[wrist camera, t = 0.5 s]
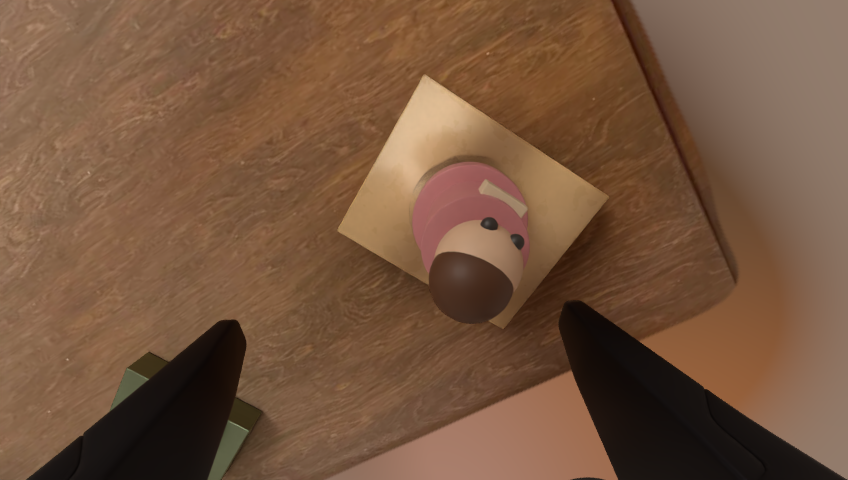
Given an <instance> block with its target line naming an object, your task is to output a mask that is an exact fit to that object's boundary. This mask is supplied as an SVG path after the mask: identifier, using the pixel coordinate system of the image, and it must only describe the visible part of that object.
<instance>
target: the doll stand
mask: <svg viewBox="0 0 848 480" xmlns="http://www.w3.org/2000/svg"><path fill="white" fill-rule="evenodd" d="M461 162H479V163H483V164H487V165H489V166H492V167H494V168H496V169H497V170H499V171H500V172H502V173H503V174H504V175H506V176H507V177H508V178H509V179H510V180H511V181H512V182H513V183H514V184H515V185H516V186H517V188H518V189H519V190H520V192H521V194H522V196H523V198H524V200H525V203H526V206H527V207H528V210H527V212H528V227H527V231H528V235H529V241H530V252H529V257H528V261H527V264H526V266H525V268H524V270H523V274H522V278H521V281H520V283H519V285H518V287H517V289H516V290H515V291H514V293H513V294H512V297H511V299H510V301H509V303H508V305H507V306H506V308H505V309H504V310H503V311H502V312H501V313H500V314H498V315H497V316H496V317H494V318H493V319H491V320H488V321H490V322H491V323H493V324H495V325H496V326H498V327H500V328H501V329H504V328H505V326H506V325H507V324H508V323H509V322H510V320H511V319H512V318H513V317H514V315H515V314H516V313H517V312H518V310H519V309H520V308H521V307H522V305H523V304H524V303H525V302H526V300H527V299H528V298H529V297H530V295H531V294H532V293H533V292H534V290H535V289H536V288H537V287H538V285H539V284H540V283H541V282H542V280H543V279H544V278H545V277H546V275H547V274H548V273H549V272H550V270H551V269H552V268H553V267H554V265H555V264H556V263H557V262H558V260H559V259H560V258H561V257H562V255H563V254H564V253H565V252H566V250H567V249H568V248H569V247H570V245H571V244H572V243H573V242H574V241H575V239H576V238H577V237H578V236H579V234H580V233H581V232H582V231H583V229H584V228H585V227H586V226H587V224H588V223H589V222H590V221H591V219H592V218H593V217H594V216H595V214H596V213H597V212H598V211H599V209H600V208H601V207H602V206H603V204H604V203H605V202H606V201H607V199H608V198H609V196H608V195H606V194H605V193H603V192H602V191H600V190H599V189H597V188H596V187H594V186H593V185H591V184H590V183H588V182H587V181H585V180H583V179H582V178H580V177H579V176H577V175H576V174H574V173H573V172H571V171H570V170H568V169H567V168H565V167H564V166H562V165H561V164H559V163H558V162H556V161H555V160H553V159H552V158H550V157H549V156H547V155H546V154H544V153H543V152H541V151H540V150H538V149H537V148H535V147H534V146H532V145H531V144H529V143H528V142H526V141H525V140H523V139H522V138H520V137H519V136H517V135H516V134H514V133H513V132H511V131H510V130H508V129H506V128H505V127H503V126H502V125H500V124H499V123H497V122H496V121H494V120H493V119H491V118H490V117H488V116H487V115H485V114H484V113H482V112H481V111H479V110H478V109H476V108H475V107H473V106H472V105H470V104H469V103H467V102H466V101H464V100H463V99H461V98H460V97H458V96H457V95H455V94H454V93H452V92H451V91H449V90H448V89H446V88H445V87H443V86H442V85H440V84H439V83H437V82H436V81H434V80H433V79H431V78H429V77H428V76H426V75H425V74H424V75H423V77H422V79H421V80H420V82H419V84H418V86H417V88H416V89H415V91H414V93H413V95H412V97H411V98H410V100H409V102H408V104H407V106H406V107H405V109H404V111H403V113H402V115H401V116H400V118H399V120H398V122H397V124H396V125H395V127H394V129H393V131H392V133H391V134H390V136H389V138H388V140H387V141H386V143H385V145H384V147H383V149H382V150H381V152H380V154H379V156H378V158H377V159H376V161H375V163H374V165H373V167H372V168H371V170H370V172H369V174H368V176H367V177H366V179H365V181H364V183H363V185H362V186H361V188H360V190H359V192H358V194H357V195H356V197H355V199H354V201H353V203H352V204H351V206H350V208H349V210H348V212H347V213H346V215H345V217H344V219H343V221H342V222H341V224H340V226H339V228H338V230H337V231H338V232H340V233H341V234H343V235H345V236H346V237H348V238H350V239H351V240H353V241H355V242H357V243H358V244H360V245H362V246H363V247H365V248H367V249H368V250H370V251H372V252H373V253H375V254H377V255H378V256H380V257H382V258H383V259H385V260H387V261H389V262H390V263H392V264H394V265H395V266H397V267H399V268H400V269H402V270H404V271H405V272H407V273H409V274H410V275H412V276H414V277H415V278H417V279H419V280H421V281H422V282H424V283H426V284H427V285H429V274H428V272H427V270H426V268H425V266H424V263H423V260H422V255H421V250H420V249H419V247H418V245H417V243H416V240H415V237H414V234H413V228H412V215H413V210H414V206H415V203H416V200H417V198H418V196H419V194H420V192H421V190H422V188H423V186H424V185H425V184H426V182H427V181H428V180H429V179H430V178H431V177H432V176H433V175H434V174H435V173H437V172H438V171H440V170H441V169H443V168H445V167H447V166H449V165H452V164H456V163H461Z"/></svg>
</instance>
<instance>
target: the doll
mask: <svg viewBox="0 0 848 480" xmlns="http://www.w3.org/2000/svg"><path fill="white" fill-rule="evenodd" d="M527 210H528V207H527V206H526V203H525V200H524V198H523V196H522V194H521V192H520V190H519V189H518V188H517V186H516V185H515V184H514V183H513V182H512V181H511V180H510V179H509V178H508V177H507V176H506V175H504V174H503V173H502V172H500V171H499V170H497V169H496V168H494V167H492V166H489V165H487V164H483V163H479V162H461V163H456V164H452V165H449V166H447V167H445V168H443V169H441V170H440V171H438V172H437V173H435V174H434V175H433V176H432V177H431V178H430V179H429V180H428V181H427V182H426V184H425V185H424V186H423V188H422V190H421V192H420V194H419V196H418V198H417V200H416V203H415V206H414V210H413V215H412V228H413V234H414V237H415V240H416V243H417V245H418V247H419V249H420V250H421V255H422V260H423V263H424V266H425V268H426V270H427V272H428V274H429V289H430V292H431V295H432V298H433V300H434V302H435V303H436V305H437V306H438V308H439V309H440V310H441V311H442V312H443V313H444V314H445V315H447V316H448V317H450V318H452V319H454V320H456V321H459V322H462V323H469V324H476V323H482V322H486V321H488V320H491V319H493V318H494V317H496V316H497V315H498V314H500V313H501V312H502V311H503V310H504V309H505V308H506V306H507V305H508V303H509V301H510V299H511V297H512V294H513V293H514V291H515V290H516V289H517V287H518V285H519V283H520V281H521V278H522V274H523V270H524V268H525V266H526V264H527V261H528V257H529V252H530V241H529V235H528V231H527V227H528V212H527Z"/></svg>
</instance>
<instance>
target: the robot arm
mask: <svg viewBox="0 0 848 480" xmlns="http://www.w3.org/2000/svg"><path fill="white" fill-rule="evenodd" d="M558 324H559V330H560V334H561V337H562V340H563V343H564V347H565V350H566V353H567V356H568V359H569V363H570V366H571V369H572V372H573V375H574V378H575V381H576V383H577V386H578V388H579V390H580V393H581V395H582V397H583V399H584V402H585V404H586V406H587V409H588V411H589V413H590V415H591V418H592V420H593V422H594V425H595V427H596V429H597V432H598V434H599V436H600V438H601V441H602V443H603V445H604V448H605V450H606V452H607V455H608V457H609V459H610V462H611V464H612V466H613V468H614V471H615V473H616V475H617V477H618V480H847V479H845V478H844V477H842V476H840V475H839V474H837V473H835V472H834V471H832V470H831V469H829V468H827V467H826V466H824V465H823V464H821V463H819V462H818V461H816V460H815V459H813V458H811V457H810V456H808V455H807V454H805V453H803V452H802V451H800V450H799V449H797V448H795V447H794V446H792V445H790V444H789V443H787V442H786V441H784V440H782V439H781V438H779V437H777V436H776V435H774V434H773V433H771V432H770V431H768V430H767V429H765V428H763V427H762V426H760V425H759V424H757V423H756V422H754V421H753V420H751V419H749V418H748V417H746V416H745V415H744V414H742V413H740V412H739V411H738V410H736V409H735V408H733V407H732V406H730V405H729V404H727V403H726V402H724V401H723V400H722V399H720V398H719V397H717V396H716V395H714V394H713V393H712V392H710V391H709V390H707V389H704V388H703V386H701V385H700V384H699V383H697V382H696V381H694V380H693V379H691V378H690V377H689V376H687V375H686V374H684V373H683V372H682V371H680V370H679V369H677V368H676V367H674V366H673V365H672V364H670V363H669V362H667V361H666V360H665V359H663V358H662V357H660V356H659V355H657V354H656V353H655V352H653V351H652V350H650V349H649V348H648V347H646V346H644V345H643V344H642V343H640V342H639V341H638V340H636V339H635V338H633V337H632V336H631V335H629V334H628V333H626V332H625V331H623V330H622V329H621V328H619V327H618V326H616V325H615V324H613V323H612V322H611V321H609V320H608V319H606V318H605V317H604V316H602V315H601V314H599V313H598V312H596V311H595V310H594V309H592V308H591V307H589V306H588V305H587V304H585V303H584V302H582V301H580V300H573V301H566V302H565V303H564V305H563V308H562V312H561V315H560V318H559V323H558ZM245 351H246V339H245V336H244V334H243V331H242V329H241V327H240V324H239V322H238V321H237V320H221V321H219V322H217V323H216V324H215V325H214V326H212V327H211V328H210V329H209V330H208V331H206V332H205V333H204V334H203V335H201V336H200V337H199V338H198V339H197V340H195V341H194V342H193V343H192V344H191V345H189V346H188V347H187V348H186V349H185V350H183V351H182V352H181V353H180V354H179V355H177V356H176V357H175V358H174V359H173V360H171V361H170V362H169V363H168V364H166V365H165V366H164V367H163V368H162V369H160V370H159V371H158V372H157V373H156V374H154V375H153V376H152V377H151V378H150V379H148V380H147V381H146V382H145V383H144V384H142V385H141V386H140V387H139V388H138V389H136V390H135V391H134V392H133V393H131V394H130V395H129V396H128V397H127V398H125V399H124V400H123V401H122V402H121V403H119V404H118V405H117V406H116V407H115V408H113V409H112V410H111V411H110V412H109V413H107V414H106V415H105V416H104V417H103V418H101V419H100V420H99V421H98V422H96V423H95V424H94V425H93V426H92V427H90V428H89V429H88V430H87V431H86V432H85V433H84V435H83V436H79V437H78V438H77V439H76V440H75V441H73V442H72V443H71V444H70V445H69V446H67V447H66V448H65V449H64V450H63V451H61V452H60V453H59V454H58V455H56V456H55V457H54V458H53V459H51V460H50V461H49V462H48V463H46V464H45V465H44V466H43V467H41V468H40V469H39V470H38V471H36V472H35V473H34V474H33V475H31V476H30V477H29V478H27V479H26V480H208V477H209V474H210V471H211V468H212V465H213V463H214V460H215V457H216V454H217V451H218V448H219V445H220V442H221V439H222V436H223V433H224V431H225V428H226V425H227V422H228V419H229V416H230V413H231V410H232V407H233V404H234V400H235V396H236V392H237V387H238V383H239V378H240V374H241V369H242V365H243V360H244V356H245Z"/></svg>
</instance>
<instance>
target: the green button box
mask: <svg viewBox="0 0 848 480" xmlns="http://www.w3.org/2000/svg"><path fill="white" fill-rule="evenodd" d="M166 364H168V362H166V361H164V360H162V359H160V358H159V357H157V356H155V355H153V354H151V353H149V352H148V353H147V354H145V355H144V356H142V357H141V358H140V359H138V360H137V361H136V362H134V363H133V364H132V365H130V366H129V367H128V368H127V369H126V371H125V374H124V376H123V379H122V381H121V384H120V386H119V389H118V391H117V394H116V396H115V399H114V401H113V404H112V406H111V409H110V411H111V410H112V409H113V408H115V407H116V406H117V405H118V404H119V403H121V402H122V401H123V400H124V399H125V398H127V397H128V396H129V395H130V394H131V393H133V392H134V391H135V390H136V389H138V388H139V387H140V386H141V385H142V384H144V383H145V382H146V381H147V380H148V379H150V378H151V377H152V376H153V375H154V374H156V373H157V372H158V371H159V370H160V369H162V368H163V367H164V366H165V365H166ZM110 411H109V412H110ZM261 413H262V411H260V410H258V409H256V408H254V407H252V406H250V405H248V404H247V403H245V402H243V401H241V400H239V399H237V398H235V400H234V404H233V407H232V410H231V413H230V416H229V419H228V422H227V425H226V428H225V431H224V433H223V436H222V439H221V442H220V445H219V448H218V451H217V454H216V457H215V460H214V463H213V465H212V468H211V471H210V474H209V477H208V480H222V478H223V477H224V475H225V474H226V472H227V471H228V469H229V467H230V465H231V464H232V462H233V460H234V459H235V457H236V455H237V454H238V452H239V450H240V448H241V447H242V445H243V443H244V442H245V440H246V438H247V437H248V435H249V433H250V431H251V430H252V428H253V426H254V425H255V423H256V421H257V420H258V418H259V416H260V414H261Z"/></svg>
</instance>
